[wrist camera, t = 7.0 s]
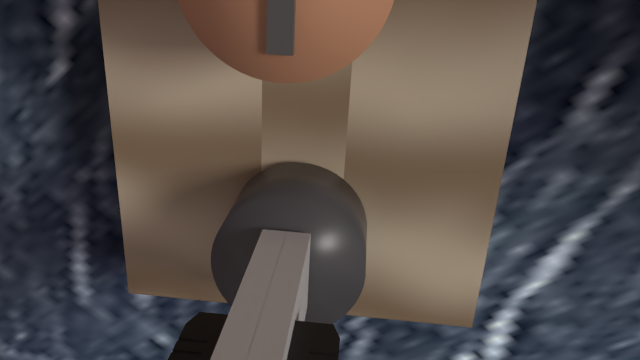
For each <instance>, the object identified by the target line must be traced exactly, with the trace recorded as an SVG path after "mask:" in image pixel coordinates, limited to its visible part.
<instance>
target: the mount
mask: <svg viewBox="0 0 640 360" xmlns="http://www.w3.org/2000/svg"><path fill="white" fill-rule="evenodd" d="M536 4H537V0H394V2H393V6H392V8H391V11H390V13H389V15H388V18H387V20H386V22H385V24H384V25H383V27H382V29H381V31H380V32H379V34H378V35H377V37H376V38H375V39H374V41H373V42H372V43H371V44H370V46H369V47H368V48H367V49H366V50H365V51H364V52H363V53H362V54H361V55H360V56H359V57H358V58H356V59H355V60H354V61H352V62H351V63H350V64H348V65H347V66H345V67H344V68H342V69H340V70H339V71H337V72H335V73H333V74H330V75H328V76H326V77H323V78H320V79H316V80H313V81H309V82H301V83H275V82H268V81H263V80H260V79H256V78H253V77H250V76H248V75H246V74H243V73H241V72H239V71H237V70H235V69H234V68H232V67H230V66H228V65H227V64H225V63H224V62H223V61H221V60H220V59H219V58H217V57H216V56H215V55H214V54H213V53H212V52H211V51H210V50H209V49H208V48H207V47H206V46H205V45H204V44H203V43H202V42H201V40H200V39H199V38H198V37H197V36H196V34H195V33H194V31H193V30H192V28H191V27H190V25H189V23H188V22H187V20H186V18H185V16H184V14H183V12H182V10H181V7H180V5H179V2H178V0H98V7H99V16H100V25H101V35H102V44H103V54H104V63H105V73H106V82H107V91H108V101H109V110H110V120H111V129H112V139H113V148H114V157H115V167H116V176H117V186H118V195H119V205H120V214H121V223H122V233H123V242H124V252H125V261H126V271H127V280H128V289H129V293H134V294H144V295H154V296H164V297H174V298H184V299H194V300H204V301H214V302H224V303H227V301H226V300H225V299H224V297H223V296H222V295H221V293H220V291H219V289H218V288H217V285H216V283H215V281H214V278H213V274H212V269H211V251H212V245H213V242H214V239H215V237H216V235H217V233H218V231H219V229H220V227H221V226H222V224H223V222H224V220H225V219H226V217H227V215H228V213H229V211H230V210H231V208H232V206H233V204H234V203H235V201H236V199H237V197H238V196H239V194H240V192H241V190H242V189H243V187H244V186H245V185H246V184H247V182H249V181H250V180H251V179H252V178H253V177H254V176H255V175H257V174H258V173H259V172H261V171H263V170H265V169H267V168H270V167H272V166H275V165H279V164H283V163H292V162H297V163H308V164H313V165H317V166H320V167H323V168H325V169H328V170H330V171H332V172H333V173H335V174H337V175H338V176H340V177H341V178H342V179H344V180H345V181H346V182H347V183H348V184H349V185H350V186H351V187H352V188H353V189H354V191H355V192H356V193H357V195H358V197H359V198H360V200H361V202H362V205H363V207H364V210H365V214H366V219H367V244H366V277H365V282H364V286H363V289H362V292H361V295H360V296H359V298H358V300H357V302H356V303H355V305H354V306H353V307H352V308H351V309H350V311H349V312H348V313H347V314H346V315H353V316H363V317H373V318H383V319H393V320H403V321H413V322H423V323H433V324H443V325H453V326H463V327H472V325H473V320H474V315H475V310H476V305H477V300H478V295H479V290H480V285H481V280H482V275H483V270H484V265H485V260H486V255H487V250H488V245H489V240H490V235H491V230H492V225H493V220H494V215H495V210H496V205H497V200H498V195H499V190H500V185H501V180H502V174H503V169H504V164H505V159H506V154H507V149H508V144H509V139H510V134H511V129H512V124H513V119H514V114H515V109H516V104H517V99H518V94H519V89H520V84H521V79H522V74H523V69H524V64H525V59H526V54H527V49H528V44H529V39H530V34H531V29H532V24H533V19H534V14H535V9H536Z"/></svg>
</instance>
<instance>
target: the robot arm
mask: <svg viewBox="0 0 640 360" xmlns="http://www.w3.org/2000/svg"><path fill="white" fill-rule="evenodd" d="M310 240H311V234H310V233H299V232H288V231H277V230H266V229H263V230H262V232H261V235H260V237H259V240H258V242H257V245H256V247H255V249H254V252H253V254H252V257H251V259H250V262H249V264H248V267H247V269H246V272H245V274H244V277H243V279H242V282H241V284H240V287H239V289H238V292H237V294H236V297H235V299H234V302H233V304H232V307H231V309H230V312H229V314H228V315H224V314H214V313H204V312H199V313H198V314H197V315H196V316H195V317H193V318H192V319H191V320H190V321H189V322H187V323H186V325H185V327H184V329H183V331H182V333H181V335H180V337H179V340H178V341H177V343H176V344H175V346H174V348H173V352H172V353H171V354H170V356H169V358H168V360H338V355H339V343H340V338H339V335H338V333H337V331H336V329H335V327H334V325H333V324H326V323H316V322H306V321H305V316H306V310H307V301H308V280H309V260H310Z"/></svg>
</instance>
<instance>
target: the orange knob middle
mask: <svg viewBox="0 0 640 360" xmlns="http://www.w3.org/2000/svg"><path fill="white" fill-rule="evenodd" d="M178 2H179V5H180V7H181V10H182V12H183V14H184V16H185V18H186V20H187V22H188V23H189V25H190V27H191V28H192V30H193V31H194V33H195V34H196V36H197V37H198V38H199V39H200V40H201V42H202V43H203V44H204V45H205V46H206V47H207V48H208V49H209V50H210V51H211V52H212V53H213V54H214V55H215V56H216V57H217V58H219V59H220V60H221V61H223V62H224V63H225V64H227V65H228V66H230V67H232V68H234V69H235V70H237V71H239V72H241V73H243V74H246V75H248V76H250V77H253V78H256V79H260V80H263V81H268V82H275V83H301V82H309V81H313V80H316V79H320V78H323V77H326V76H328V75H330V74H333V73H335V72H337V71H339V70H340V69H342V68H344V67H345V66H347V65H348V64H350V63H351V62H352V61H354V60H355V59H356V58H358V57H359V56H360V55H361V54H362V53H363V52H364V51H365V50H366V49H367V48H368V47H369V46H370V44H371V43H372V42H373V41H374V39H375V38H376V37H377V35H378V34H379V32H380V31H381V29H382V27H383V25H384V24H385V22H386V20H387V18H388V15H389V13H390V11H391V8H392V6H393V2H394V0H178Z"/></svg>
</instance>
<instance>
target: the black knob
mask: <svg viewBox="0 0 640 360" xmlns="http://www.w3.org/2000/svg"><path fill="white" fill-rule="evenodd" d="M263 229H266V230H277V231H288V232H299V233H310V234H311V240H310V260H309V280H308V301H307V310H306V316H305V321H306V322H316V323H326V324H332V323H334V322H336V321H337V320H339V319H340V318H342V317H343V316H344V315H346V314H347V313H348V312H349V311H350V309H351V308H352V307H353V306H354V305H355V303H356V302H357V300H358V298H359V296H360V295H361V292H362V289H363V286H364V282H365V277H366V244H367V219H366V214H365V210H364V207H363V205H362V202H361V200H360V198H359V197H358V195H357V193H356V192H355V191H354V189H353V188H352V187H351V186H350V185H349V184H348V183H347V182H346V181H345V180H344V179H342V178H341V177H340V176H338V175H337V174H335V173H333V172H332V171H330V170H328V169H325V168H323V167H320V166H317V165H313V164H308V163H297V162H292V163H283V164H279V165H275V166H272V167H270V168H267V169H265V170H263V171H261V172H259V173H258V174H257V175H255V176H254V177H253V178H252V179H251V180H250V181H249V182H247V184H246V185H245V186H244V187H243V189H242V190H241V192H240V194H239V196H238V197H237V199H236V201H235V203H234V204H233V206H232V208H231V210H230V211H229V213H228V215H227V217H226V219H225V220H224V222H223V224H222V226H221V227H220V229H219V231H218V233H217V235H216V237H215V239H214V242H213V245H212V251H211V269H212V274H213V278H214V281H215V283H216V285H217V288H218V289H219V291H220V293H221V295H222V296H223V297H224V299H225V300H226V301H227V303H228V304H229V305H230V306H231V307H232V304H233V302H234V299H235V297H236V294H237V292H238V289H239V287H240V284H241V282H242V279H243V277H244V274H245V272H246V269H247V267H248V264H249V262H250V259H251V257H252V254H253V252H254V249H255V247H256V245H257V242H258V240H259V237H260V235H261V232H262V230H263Z"/></svg>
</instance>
